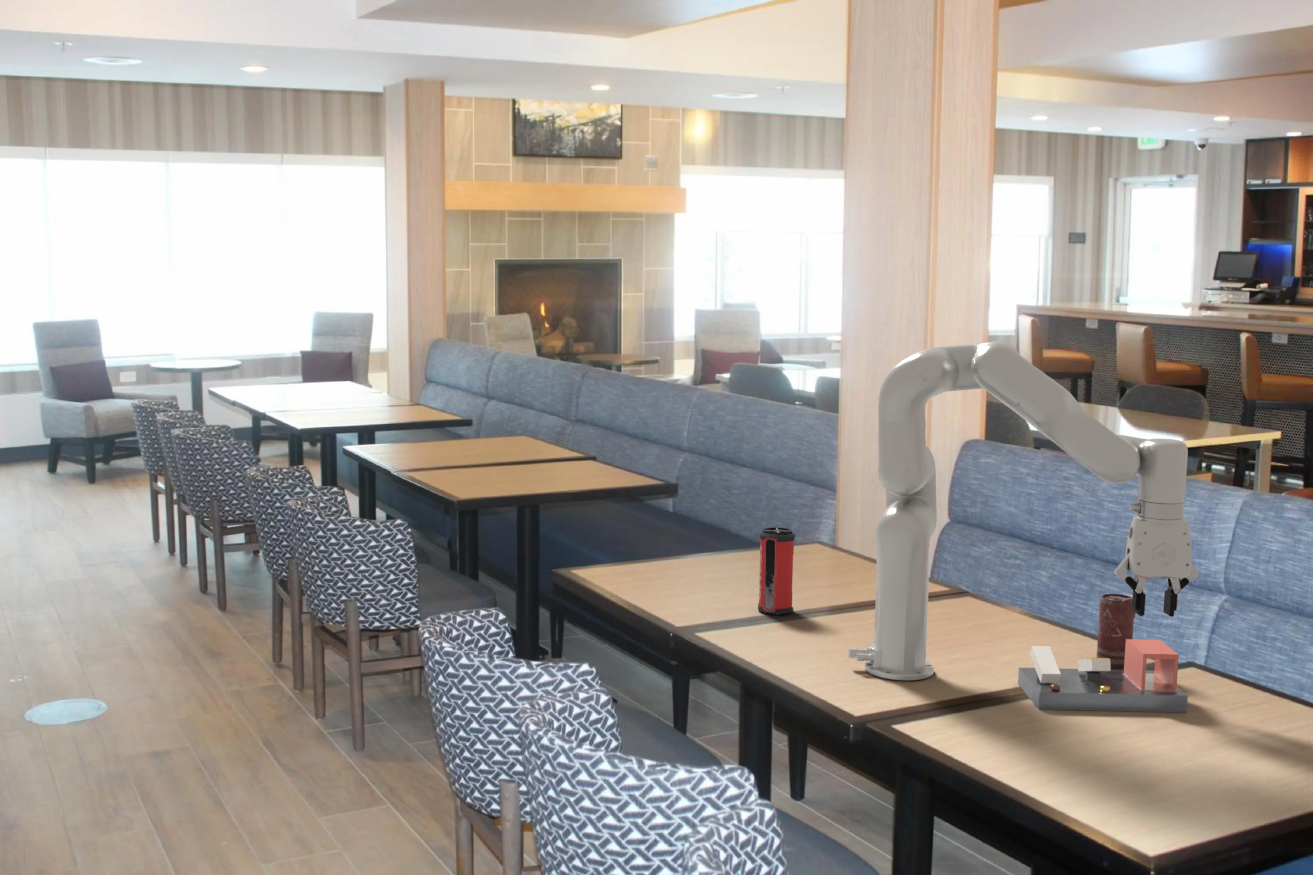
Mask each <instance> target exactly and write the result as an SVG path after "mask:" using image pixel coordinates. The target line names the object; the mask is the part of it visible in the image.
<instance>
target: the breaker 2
mask: <svg viewBox="0 0 1313 875" xmlns="http://www.w3.org/2000/svg"><path fill="white" fill-rule="evenodd" d="M1077 669H1078V672H1103V671H1111V666H1110V659H1109V658H1097V657H1087V658H1086V659H1077Z"/></svg>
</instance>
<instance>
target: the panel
mask: <svg viewBox="0 0 1313 875" xmlns="http://www.w3.org/2000/svg"><path fill="white" fill-rule="evenodd" d="M1058 668H1059V671H1060V673H1061V676H1060V682H1059V683H1040V680H1039V677H1038V675H1037V672H1036V669H1035V667H1018V677H1017V684H1018V686H1020V688H1021V690H1022V691H1023V692H1024V693H1025V694H1026V696H1027V697H1028V698H1029V700H1030V701H1031V702H1032V703H1033V705H1034V706H1035V707H1036V708H1037V710H1046V711H1047V710H1051V711H1052V710H1053V711H1055V710H1056V711H1094V712H1096V711H1098V712H1099V711H1100V712H1101V711H1102V712H1134V713H1135V712H1136V713H1137V712H1139V713H1140V712H1142V713H1146V712H1147V713H1149V712H1150V713H1183V714H1184V713H1187V712H1188V698H1189V695H1187V693H1186V692H1184V691H1183V690H1182V689H1181V688H1179V686H1177V689H1176V690H1172V689H1171V688H1170V687H1169V686H1168V685H1166V684H1165V683H1164V682H1163V681H1162V680H1161V679H1159V678H1158V677H1157V676H1156V675H1155V674H1154V670H1155V669H1154V670H1153V669H1152V670H1147V669H1146V677H1145V690H1143V689H1140V688H1139V687H1138V686H1137V685H1136V684H1135V683H1134V682H1133V681H1131V680H1130V679H1129V678H1128V677H1127V676H1126V675H1125V674H1124V670H1111V671H1103V672H1078V668H1060V667H1058Z"/></svg>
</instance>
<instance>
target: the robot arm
mask: <svg viewBox="0 0 1313 875" xmlns="http://www.w3.org/2000/svg"><path fill="white" fill-rule="evenodd" d="M979 389H980V390H982V389H983V390H985V391H986V392H987V393H989V394H990V395H991V396H993V398H995V399H996V400H998V401H999V402H1001V403H1002V404H1003V405H1005V406H1006V407H1008V408H1009V409H1010V410H1012V411H1013V412H1014V413H1016V414H1017V415H1018V416H1019V417H1020V418H1022V419H1023V420H1024V421H1026V422H1027V424H1029V425H1031V426H1032V427H1033V428H1035V429H1036V430H1037V431H1038V432H1039V433H1040V434H1042V435H1043V436H1044V437H1046V438H1047V439H1049V440H1050V441H1051V442H1053V443H1054V444H1055V445H1056V446H1057V447H1059V448H1060V449H1061V450H1062V451H1063V452H1065V453H1066V454H1067V455H1068V456H1069V457H1071V458H1072V459H1074V460H1075V461H1076V462H1077V463H1079V464H1080V465H1082V466H1083V467H1085V468H1086V469H1087V470H1088V471H1089V472H1091V473H1092V474H1093V475H1094V476H1097V477H1098V478H1099V479H1100V480H1103V481H1104V482H1106V483H1109V484H1113V485H1121V484H1126V483H1127V482H1130V481H1131V480H1133V479H1134V478H1135V477H1138V490H1137V491H1138V493H1137V499H1136V501H1135V502H1134V503H1130V504H1128V510H1129V512H1134V513H1135V514H1136V516H1133V517H1132V520H1131V523H1130V527H1129V531H1128V535H1127V541H1126V548H1125V556H1124V558H1123V559H1122V560H1121V562H1120V563H1119V564H1118V566H1116V568H1115V569H1114V571H1113V574H1115V575H1116V576H1117V577H1118V578H1120V579H1121V580H1122V581H1123V582H1125V583H1126V585H1128V586H1129V587H1130V589H1131V590H1132V598H1133V599H1132V608H1133V610H1134V612H1135V614H1137V615H1138V616H1140V617H1144V616H1145V612H1146V611H1145V610H1146V593H1145V592H1144V588H1145V584H1146V581H1147V578H1153V579H1166V584H1167V589H1165V590H1164V596H1163V598H1164V599H1163V611H1162V612H1163V613H1164V614H1165V615H1167V616H1168V617H1174V616H1175V612H1176V611H1177V608H1178V595H1179V594H1180V593H1182V591H1181V590H1183V589H1184V588H1186V587H1187V586H1188V585H1189V583H1190V582H1192V581H1194V580H1196V579H1197V578H1198V577H1199V576H1200V573H1199V571H1198V570H1197V568H1196V567H1195V565H1194V564H1193V563H1192V539H1191V538H1192V536H1191V528H1190V522H1189V520H1188V519H1187V518H1184V516H1185V515H1184V513H1185V500H1186V497H1185V496H1186V487H1187V486H1186V485H1187V471H1188V470H1187V469H1188V454H1189V451H1188V450H1189V449H1188V446H1187V444H1186V443H1185V442H1184V441H1181V440H1177V439H1172V438H1171V439H1170V438H1149V439H1148V438H1141V437H1135V436H1129V435H1126V434H1125V435H1123V434H1116V433H1115V432H1113V431H1112V430H1111V429H1109V428H1108V427H1107V426H1105V425H1104V424H1102V423H1101V422H1100V421H1099V420H1098V419H1096V418H1095V417H1094V416H1093V415H1091V413H1089V412H1088V411H1087V410H1086V409H1085V408H1084V407H1082V405H1081V404H1080V403H1079V402H1078V400H1077V399H1076V398H1075V397H1074V396H1073V395H1072V393H1071V392H1070V391H1069V390H1067V389H1066V388H1065V387H1064V386H1063V385H1061V384H1060V383H1058V382H1057V381H1056V380H1055V379H1053V378H1052V377H1051V376H1049V375H1048V374H1046V373H1045V372H1044V371H1042V369H1041V370H1040V368H1038V367H1036V366H1035V365H1033V363H1031V362H1030V361H1029V360H1028V359H1026V358H1024V356H1022V355H1021V354H1020V353H1019V351H1018V349H1016V347H1015V346H1014V345H1012V344H1010V343H1008V342H1006V341H1001V340H993V341H987V342H980V343H970V344H960V345H958V344H957V345H949V346H947V345H946V346H938V347H937V346H936V347H929V348H926V349H923V350H920V351H917V352H916V353H913V354H912V355H910V356H908V357H906V358H905V359H903V360H901V362H899V363H898V364H896V365H895V366H894V367H893V368H892V369H891V370H890V371H889V372H888V374H887V375H886V377H885V378H884V380H883V383H882V384H881V387H880V391H879V396H878V404H877V405H878V408H877V409H878V410H877V411H878V412H877V414H878V415H877V418H878V419H877V420H878V429H877V430H878V431H877V436H878V438H877V439H878V440H877V441H878V451H877V452H878V465H877V466H878V467H877V470H878V471H877V473H878V479H879V481H880V484H881V485H882V487H883V488H884V489H885V506H886V509H885V510H884V511H883V512H882V514H881V516H880V517H879V520H878V523H877V526H876V530H875V552H876V553H875V555H876V574H875V576H876V577H875V578H876V579H875V580H876V581H875V607H874V608H875V611H874V613H875V614H874V634H873V635H874V638H873V642H872V641H871V642H870V646H865V647H864V648H859V647H848V651H847V653H848V655H847V656H848V659H856V662H857V661H858V662H864V670H865V671H866V672H867V673H869V674H870V675H872V676H875V677H878V678H882V679H887V680H894V681H920V680H924V679H927V678H928V679H929V678H930V677H932V676H933V675H934V670H935V668H934V666H933V664H932V663H930V661H927V660H926V658H927V657H926V656H927V639H928V637H927V636H928V634H927V633H928V613H929V610H928V609H929V607H928V606H929V580H930V542H931V538H932V537H933V534H934V532H935V531H936V527H937V522H938V520H937V519H938V513H937V512H938V509H937V508H938V506H937V475H936V474H937V473H936V472H937V471H936V470H937V469H936V462H935V461H936V460H935V458H934V455H933V453H932V451H931V449H930V448H929V447H928V446H927V444H926V443H927V441H926V426H927V425H926V424H927V423H926V412H925V411H926V406H927V403H928V401H929V400H930V399H931V398H932V397H933V398H934V397H936V396H938V395H941V394H942V393H947V392H948V393H949V392H955V391H956V392H957V391H958V392H959V391H969V390H970V391H971V390H979ZM1127 571H1128V572H1130V573H1132V574H1133V577H1131V576H1130V575H1129V574H1128V573H1127Z"/></svg>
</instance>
